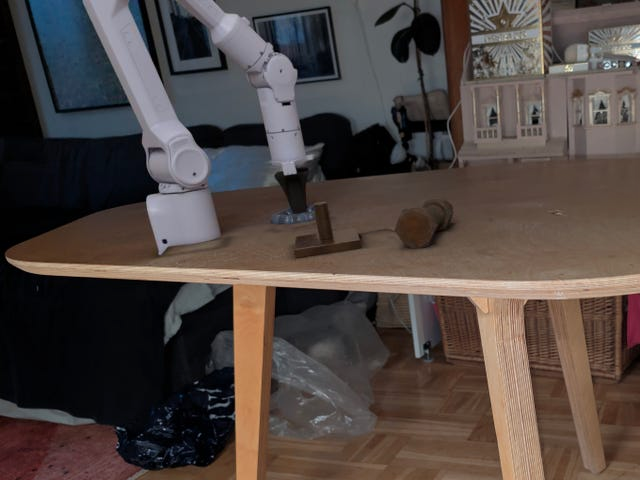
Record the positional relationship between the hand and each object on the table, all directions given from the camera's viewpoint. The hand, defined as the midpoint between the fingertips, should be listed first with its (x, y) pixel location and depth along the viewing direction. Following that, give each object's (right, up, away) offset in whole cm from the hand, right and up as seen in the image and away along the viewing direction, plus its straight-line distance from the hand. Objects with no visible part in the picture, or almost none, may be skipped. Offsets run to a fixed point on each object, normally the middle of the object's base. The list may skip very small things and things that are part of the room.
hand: (300, 212), depth 122 cm
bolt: (+25, -8, -21) cm, 34 cm away
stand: (+10, -9, -21) cm, 25 cm away
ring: (+1, -2, -3) cm, 4 cm away
